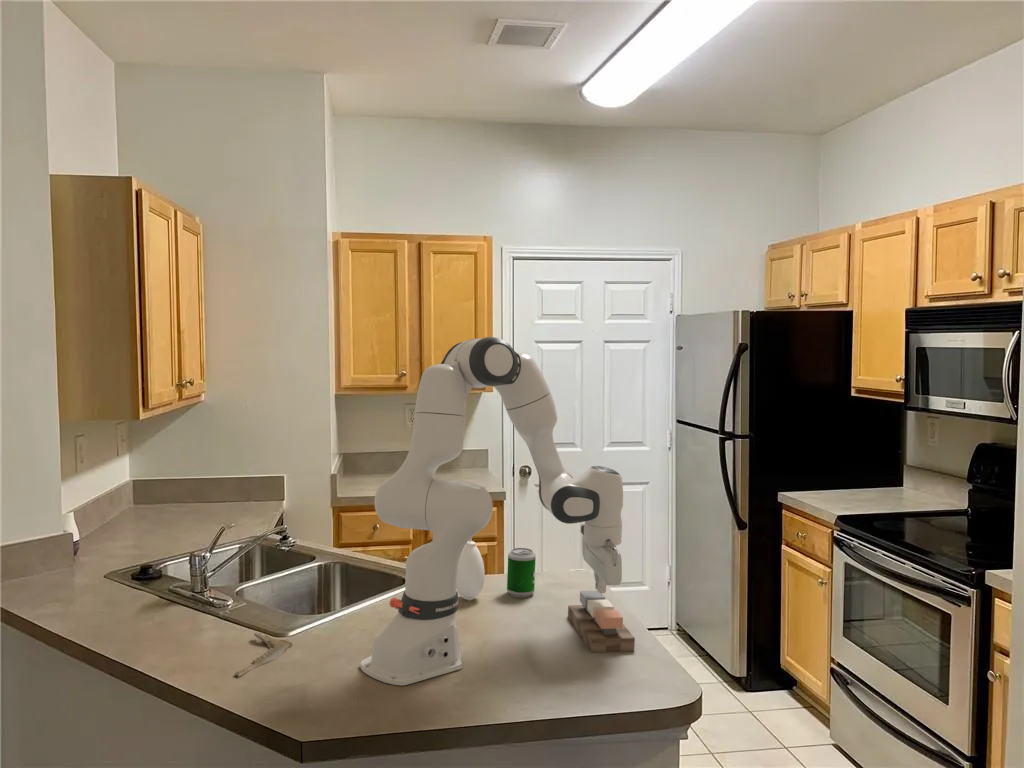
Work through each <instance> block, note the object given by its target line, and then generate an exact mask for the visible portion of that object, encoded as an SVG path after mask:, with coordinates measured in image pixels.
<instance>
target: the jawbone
mask: <svg viewBox="0 0 1024 768" xmlns="http://www.w3.org/2000/svg"><path fill="white" fill-rule="evenodd" d="M253 635H254V636H255V637H256V638H257V639H260V640H261V641H262V642H263V643H264V644H265V645H267V648H269V649H268V650H267V651H266V652H265V653H263V654H262V655H260V656H258V657H257V656H256V658H254V659H252V665H250V666H247V667H245V668H243V669H240V670H237V671H235V672H234V677H235V678H240V677H243V676H245V675H246V674H247V673H249V672H251V671H252V670H255V669H257V668H259V667H261V666H264V665H267V664H269V663H272V662H274V661H275V660H277V659H278V658H280V657H281V656H283V654H284V653H286V652H287V650H288V649H290V648H292V647H293V642H290V641H289V640H286V639H275V638H272V637H270V636H269V635H268V634H265V636H264V635H263V634H261V633H258V632H255V633H253Z"/></svg>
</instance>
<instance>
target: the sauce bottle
mask: <svg viewBox="0 0 1024 768" xmlns="http://www.w3.org/2000/svg"><path fill="white" fill-rule="evenodd" d="M472 539H473V537H472V538H471V539H470V540H469V541H468V542H467V543H466V545H465V546H464V548H463V550H462V552H461V555H460V558H459V563H458V571H457V585H456V591H457V592H458V595H460V596H461V597H462V599H464V600H466V601H472V600H475V599H476V598H477V597H478V596H479V595H480V594H481V591H482V589H483V587H484V584H485V575H486V574H485V565H484V559H483V557H482V554H481V551H480V550H479V548H478V546H477V544H476V542H475V541H473V540H472Z"/></svg>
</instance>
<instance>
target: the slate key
mask: <svg viewBox="0 0 1024 768" xmlns="http://www.w3.org/2000/svg"><path fill="white" fill-rule="evenodd" d="M605 599H606V596H605V595H604V593H599V592H598V591H597V590H580V591H579V602H580V603H581V605H583V606H584V607H585V611H586V612H587V613H589V612H588V610H587V604H588V600H605Z"/></svg>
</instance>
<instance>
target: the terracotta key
mask: <svg viewBox="0 0 1024 768" xmlns="http://www.w3.org/2000/svg"><path fill="white" fill-rule="evenodd" d="M595 621H596V622H597V624H598V625H599V626H600V628H601V633H602V634H603V635H616V628H623V625H624V617H623V615H622V614H621V613H620V612H619V611H618V610H617V609H614V610H596V614H595Z"/></svg>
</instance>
